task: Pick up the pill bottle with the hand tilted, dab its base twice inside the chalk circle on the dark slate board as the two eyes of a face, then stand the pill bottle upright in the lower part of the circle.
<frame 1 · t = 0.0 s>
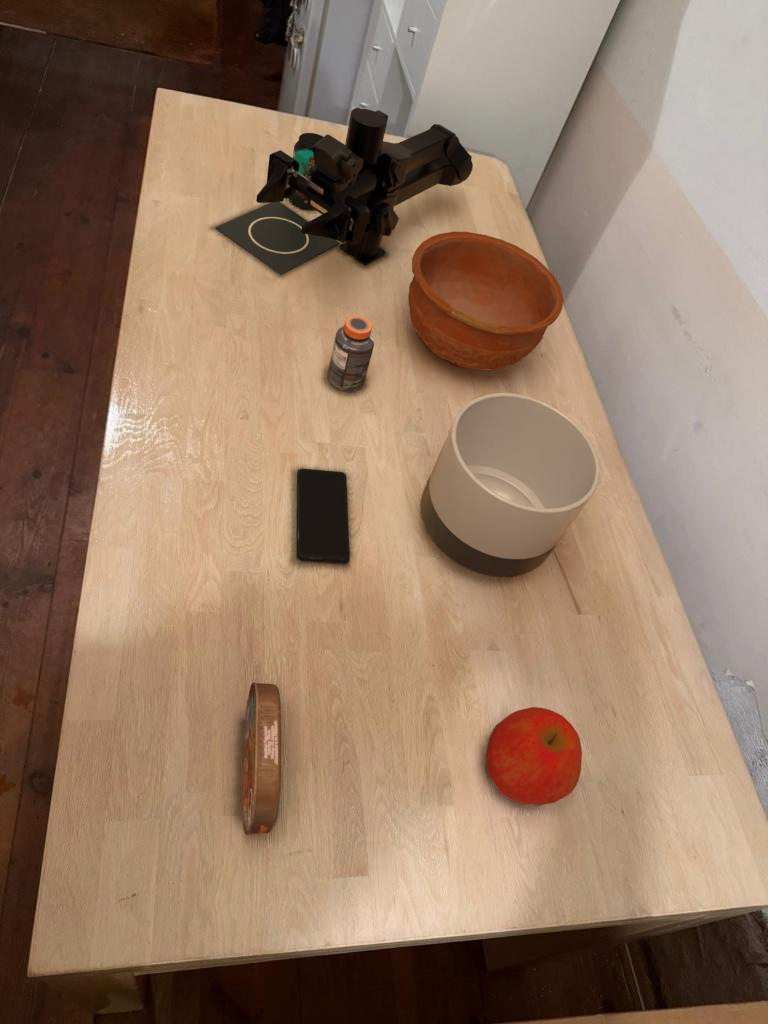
hand: (279, 214, 111), 17 cm above the table, tool horizontal, fingers open, 9 cm apart
beverage can: (305, 202, 145), on the table
pill bottle: (345, 380, 117), on the table
tin: (257, 768, 79), on the table
slate board: (278, 236, 136), on the table
smartphone: (321, 517, 100), on the table
bowl: (460, 349, 128), on the table
planter: (480, 531, 105), on the table
apple: (518, 768, 85), on the table
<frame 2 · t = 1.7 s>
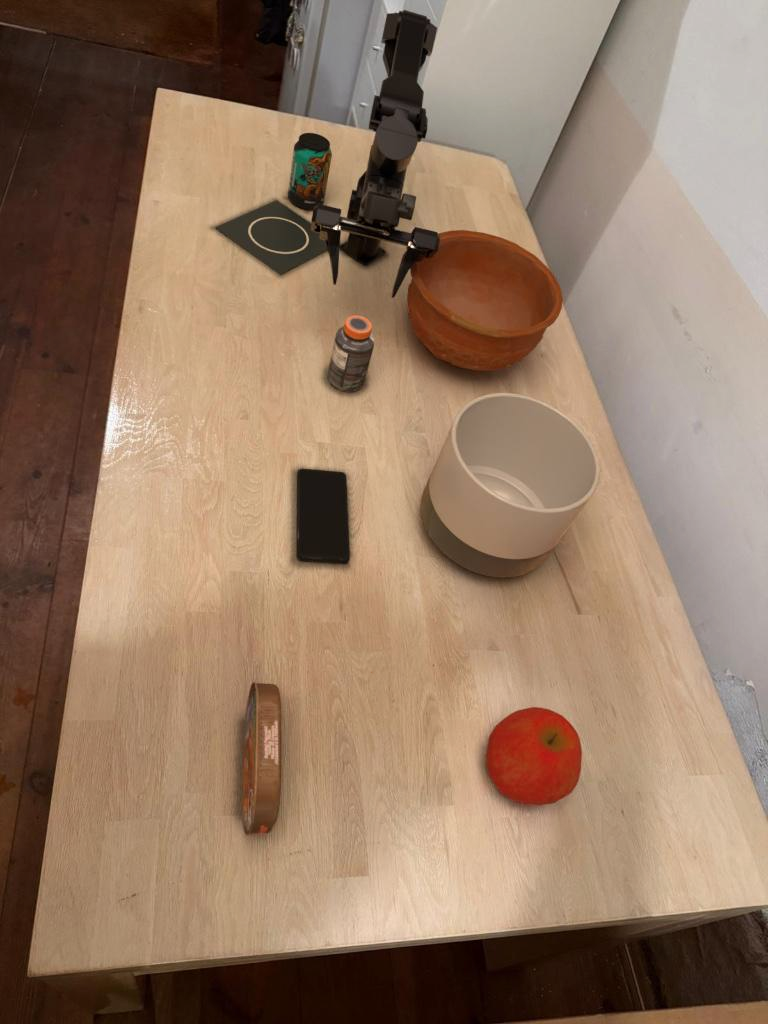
hand: (363, 290, 110), 13 cm above the table, tool tilted 45°, fingers open, 8 cm apart
bowl: (460, 348, 128), on the table, touching gripper
everything else where it was.
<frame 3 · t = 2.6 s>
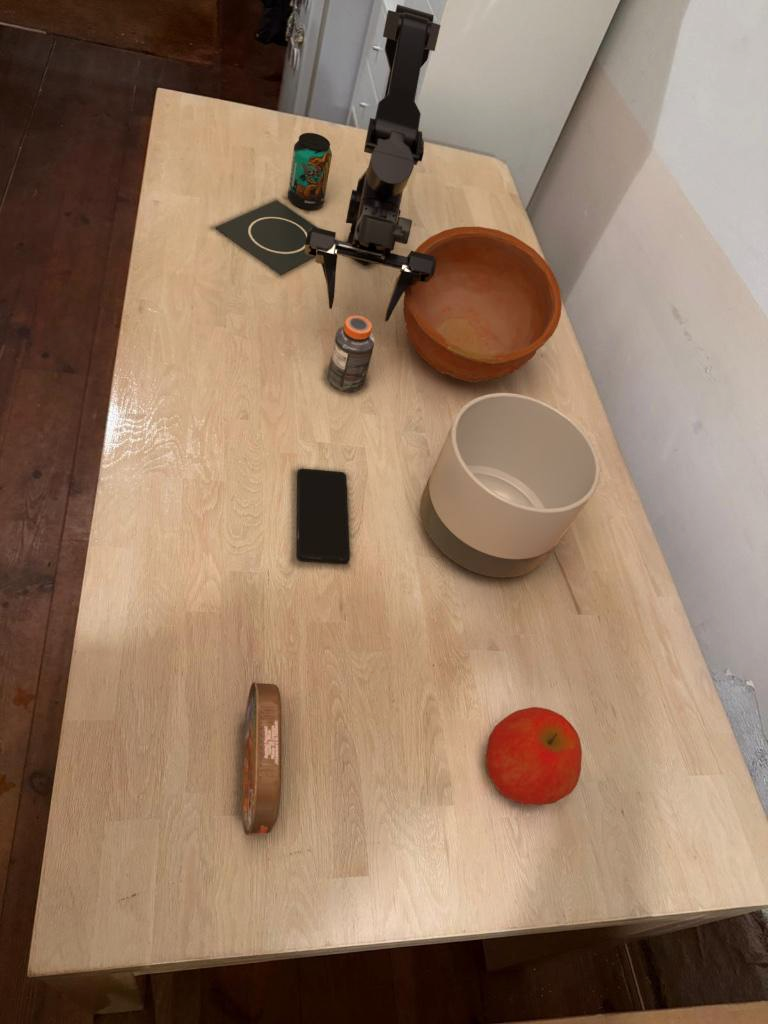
hand: (358, 314, 108), 12 cm above the table, tool tilted 45°, fingers open, 8 cm apart
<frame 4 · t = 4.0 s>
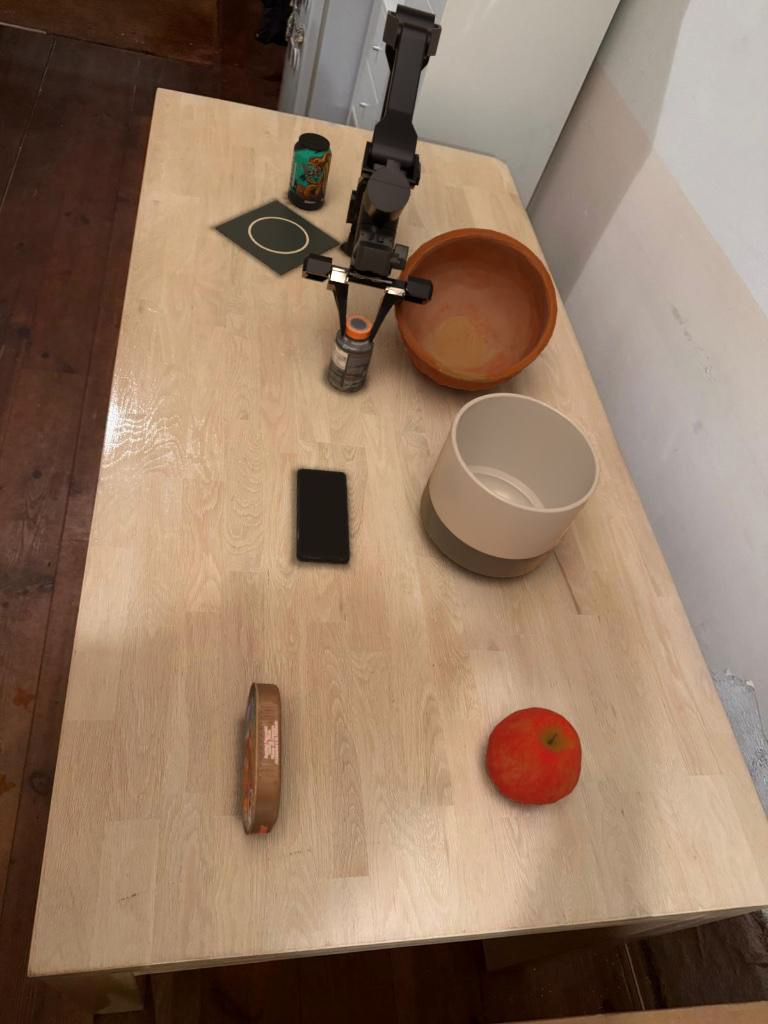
hand: (356, 339, 108), 10 cm above the table, tool tilted 45°, fingers closed on pill bottle, 4 cm apart
pill bottle: (345, 380, 117), on the table, touching gripper
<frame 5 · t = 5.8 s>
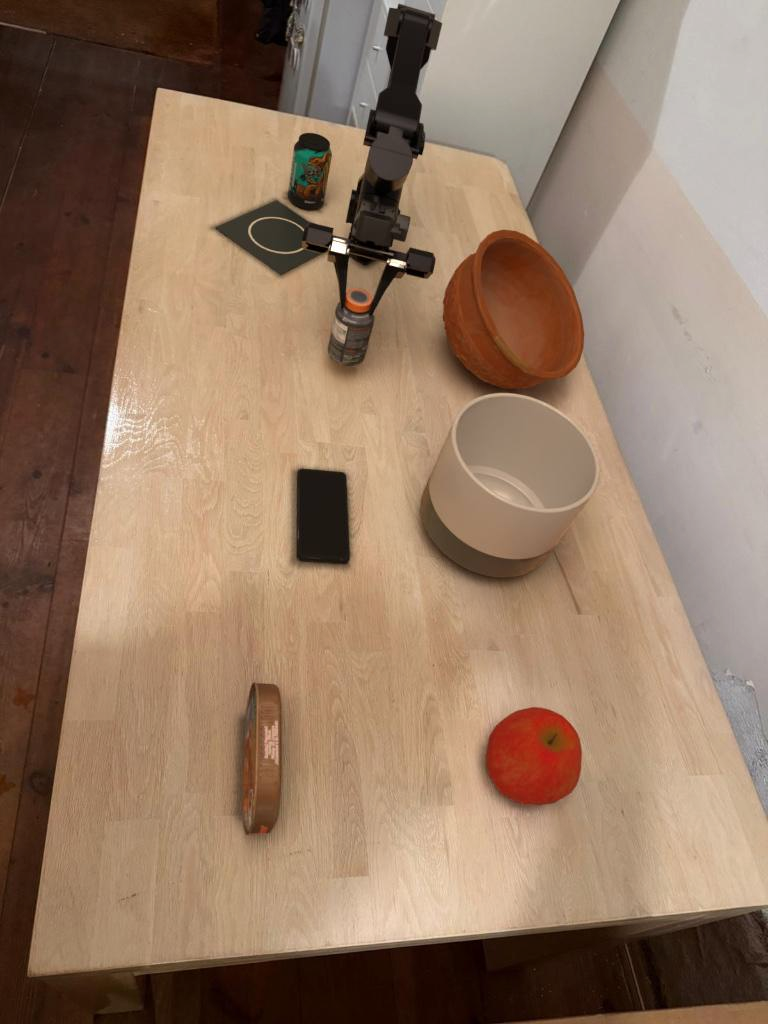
hand: (356, 312, 106), 13 cm above the table, tool tilted 45°, fingers closed on pill bottle, 4 cm apart
pill bottle: (345, 355, 116), point 3 cm above the table, touching gripper
bowl: (467, 341, 127), point 2 cm above the table
everything else where it was.
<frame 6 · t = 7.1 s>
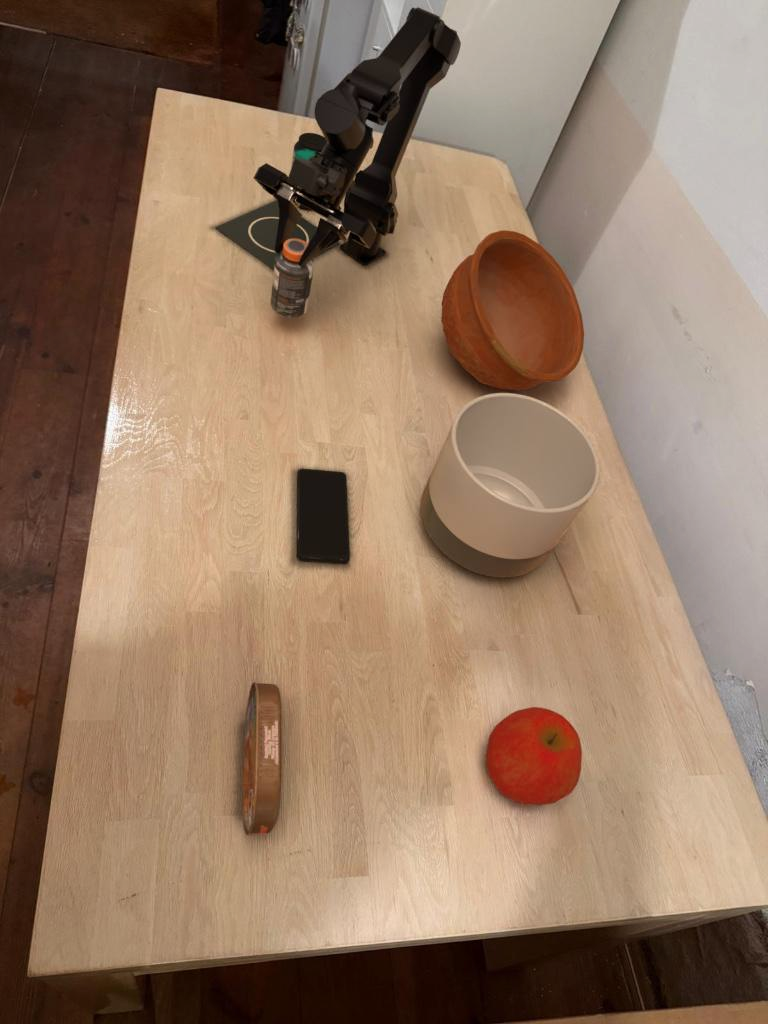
hand: (287, 259, 109), 14 cm above the table, tool tilted 45°, fingers closed on pill bottle, 4 cm apart
pill bottle: (288, 307, 118), point 4 cm above the table, touching gripper
everything else where it was.
when the fingers open (11 cm above the table, at t = 16.2 s): pill bottle stays where it is, resting on slate board.
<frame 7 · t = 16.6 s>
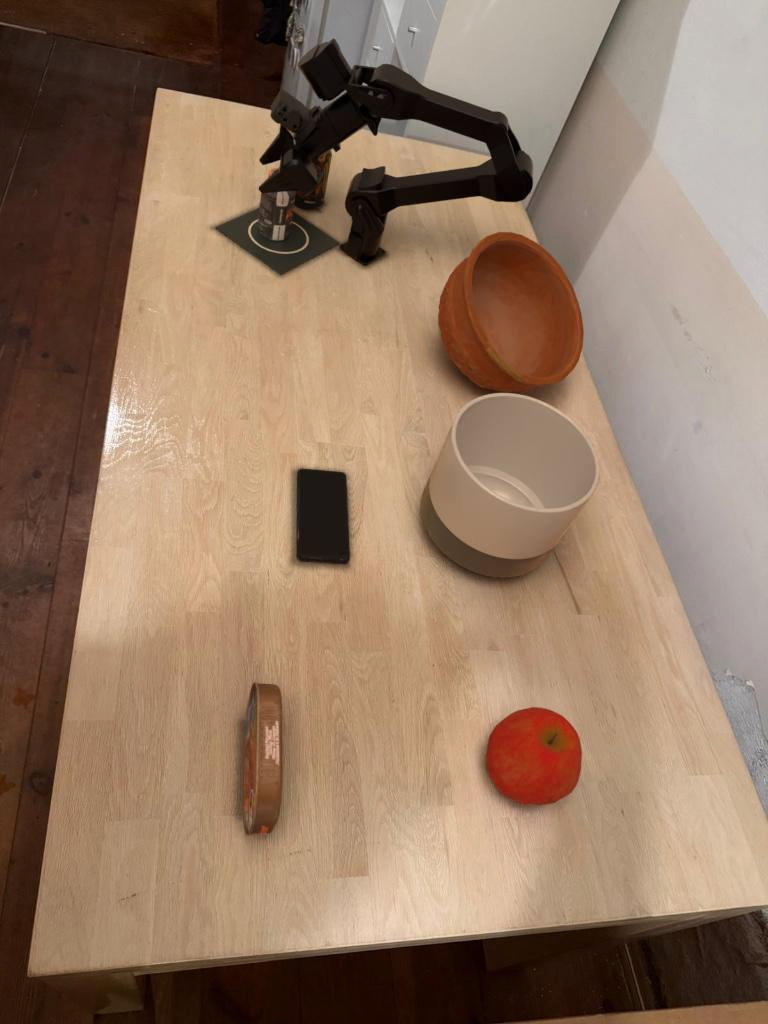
hand: (260, 176, 127), 11 cm above the table, tool tilted 45°, fingers open, 9 cm apart
pill bottle: (273, 233, 136), resting on slate board
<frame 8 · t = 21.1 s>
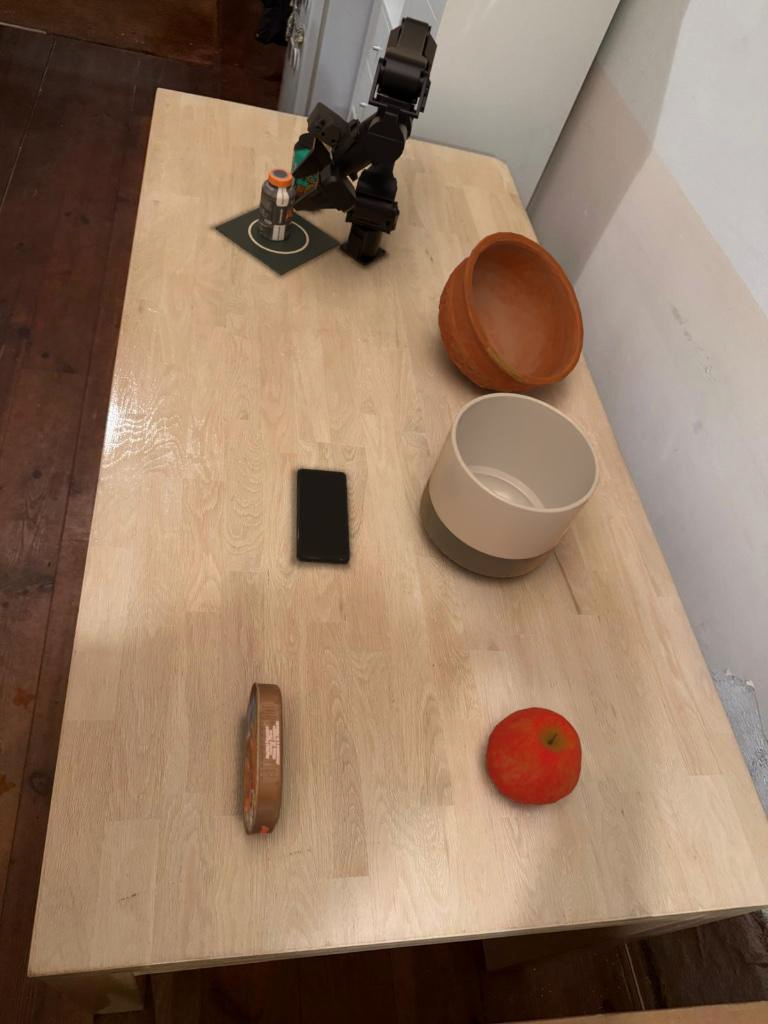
hand: (293, 192, 121), 14 cm above the table, tool tilted 45°, fingers open, 9 cm apart
nothing on the table moved.
at the end: pill bottle inside the target area on the slate board (1.1 cm from its centre), point 0.2 cm above the slate board's base; pill bottle tilted 0°; the gripper is holding nothing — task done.
